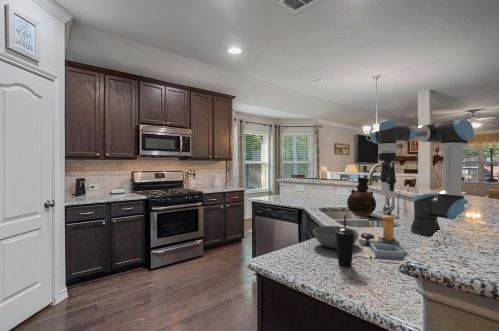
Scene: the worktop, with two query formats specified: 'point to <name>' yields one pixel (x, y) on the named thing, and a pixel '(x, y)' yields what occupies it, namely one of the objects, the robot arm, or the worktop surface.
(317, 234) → the bowl
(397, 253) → the tray
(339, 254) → the drinking cup
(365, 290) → the worktop surface
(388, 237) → the lock pin
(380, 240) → the tensioner plate
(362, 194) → the ceramic vessel
